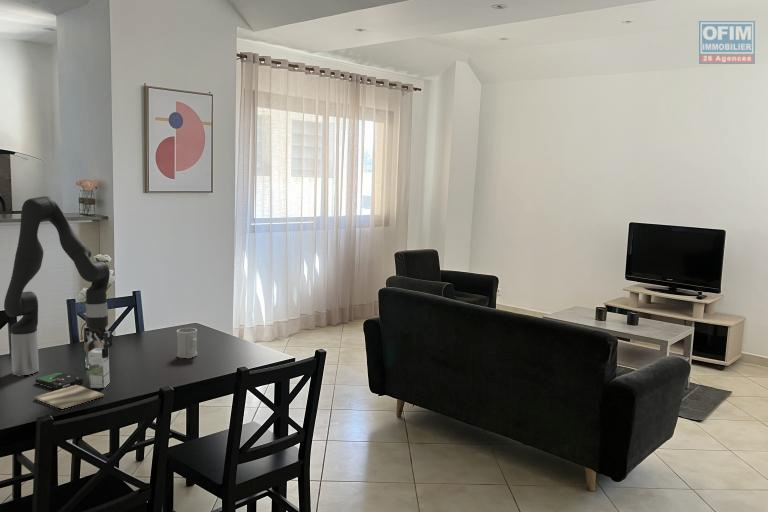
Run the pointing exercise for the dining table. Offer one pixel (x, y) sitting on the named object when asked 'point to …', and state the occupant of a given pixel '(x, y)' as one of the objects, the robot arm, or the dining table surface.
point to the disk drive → (59, 380)
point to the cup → (187, 342)
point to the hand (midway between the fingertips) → (98, 355)
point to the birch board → (69, 396)
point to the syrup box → (98, 369)
